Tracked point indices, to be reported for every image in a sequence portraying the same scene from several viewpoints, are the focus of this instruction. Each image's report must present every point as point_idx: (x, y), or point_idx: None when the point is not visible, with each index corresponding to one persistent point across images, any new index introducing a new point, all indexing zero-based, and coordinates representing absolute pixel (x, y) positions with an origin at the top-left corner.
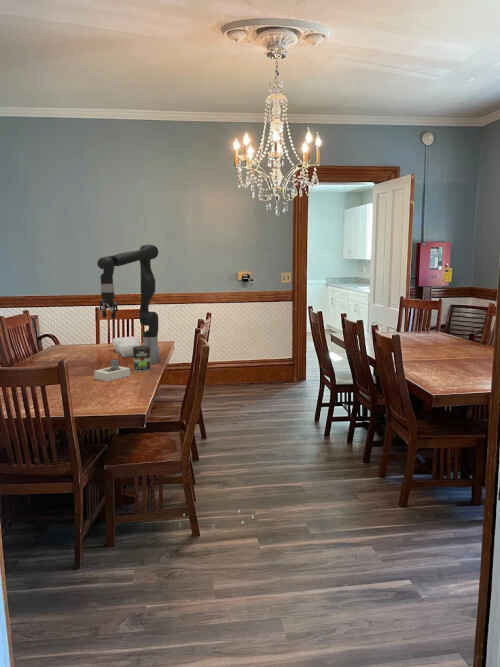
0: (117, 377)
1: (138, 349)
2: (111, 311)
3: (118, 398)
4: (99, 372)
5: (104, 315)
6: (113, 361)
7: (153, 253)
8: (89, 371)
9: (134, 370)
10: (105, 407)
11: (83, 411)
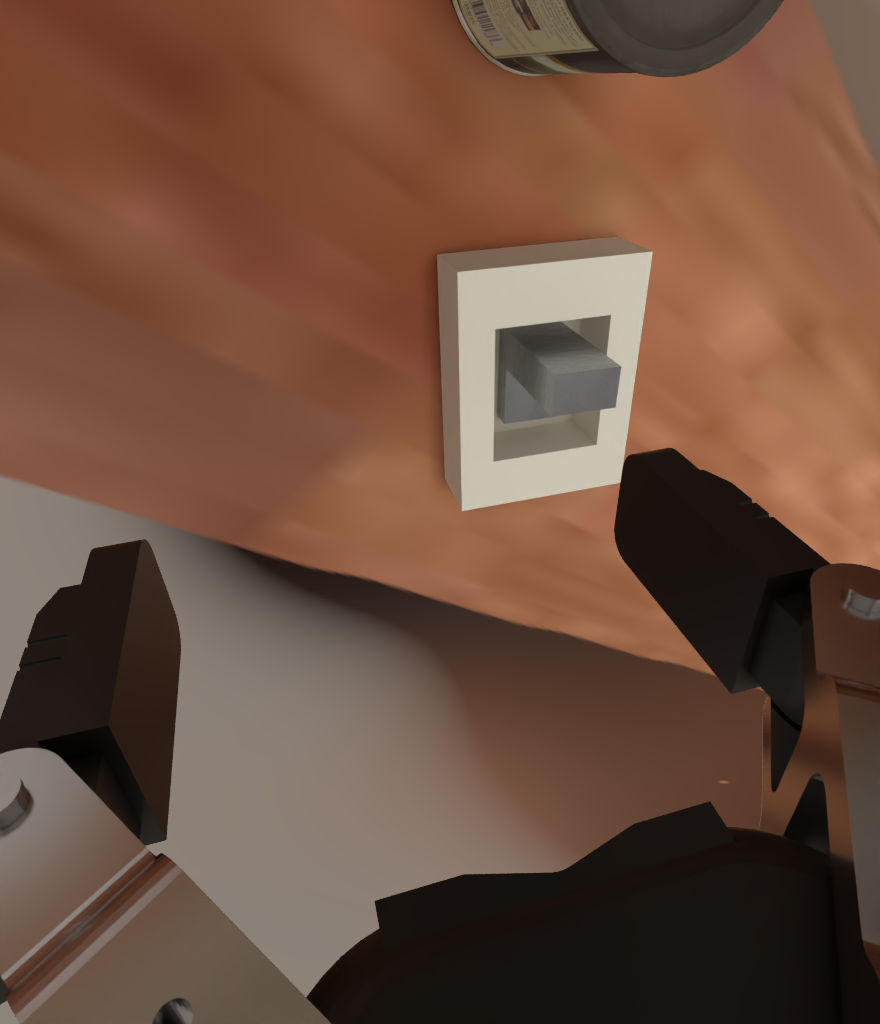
0: None
1: (736, 50)
2: (787, 739)
3: (861, 551)
4: (531, 496)
5: (159, 663)
6: (592, 408)
7: None
8: (171, 402)
9: (517, 71)
10: None
11: None
